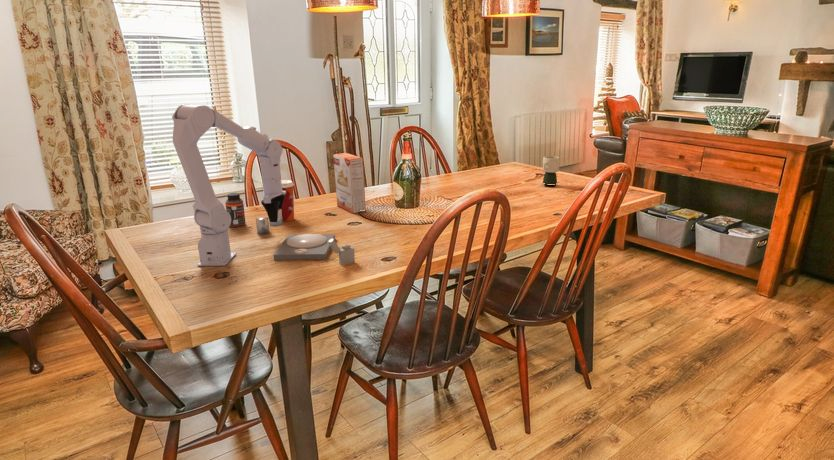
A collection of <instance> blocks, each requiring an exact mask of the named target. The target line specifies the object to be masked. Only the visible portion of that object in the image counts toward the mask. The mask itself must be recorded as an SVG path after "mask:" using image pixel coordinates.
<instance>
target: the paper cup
mask: <svg viewBox="0 0 834 460" xmlns="http://www.w3.org/2000/svg"><path fill="white" fill-rule="evenodd" d="M281 183H282V190H283V191H286V194H282V195H285V196H286V197H285V199H284V202H283V206H282V221H283V223H284V222H285V223H286V222H292V221H294V220H295V204H294V203H295V202H294V201H295V199H294V185H295V184H294V182H293V181H292V180H289V179H281Z"/></svg>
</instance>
